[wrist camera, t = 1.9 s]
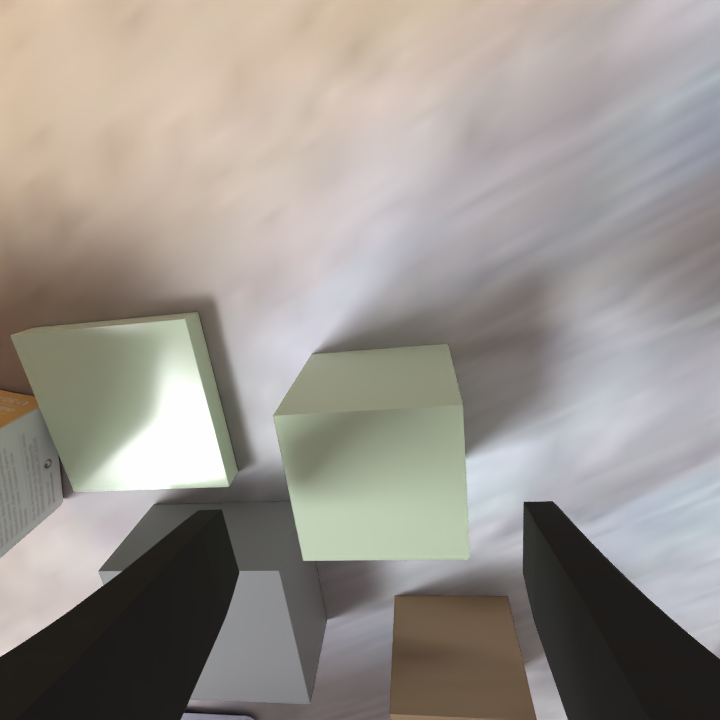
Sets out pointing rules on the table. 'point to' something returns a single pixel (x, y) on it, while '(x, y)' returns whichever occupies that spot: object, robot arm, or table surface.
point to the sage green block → (376, 455)
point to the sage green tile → (130, 402)
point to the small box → (25, 469)
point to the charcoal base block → (251, 603)
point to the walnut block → (457, 660)
